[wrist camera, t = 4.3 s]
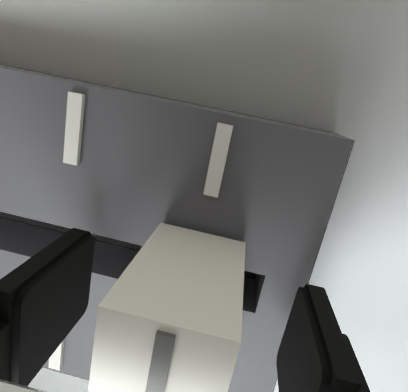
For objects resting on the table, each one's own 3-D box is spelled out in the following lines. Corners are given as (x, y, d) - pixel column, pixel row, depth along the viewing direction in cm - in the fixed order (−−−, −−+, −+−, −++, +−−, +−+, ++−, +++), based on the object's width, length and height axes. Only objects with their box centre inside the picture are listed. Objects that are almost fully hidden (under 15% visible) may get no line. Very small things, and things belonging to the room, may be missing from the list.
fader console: (260, 380, 16) (261, 432, 14) (-80, 289, 18) (-136, 322, 15) (335, 133, 13) (356, 141, 10) (-95, 44, 14) (-172, 32, 12)
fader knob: (225, 310, 14) (202, 486, 8) (157, 292, 15) (79, 450, 8) (246, 223, 13) (240, 346, 7) (172, 206, 13) (95, 308, 7)
